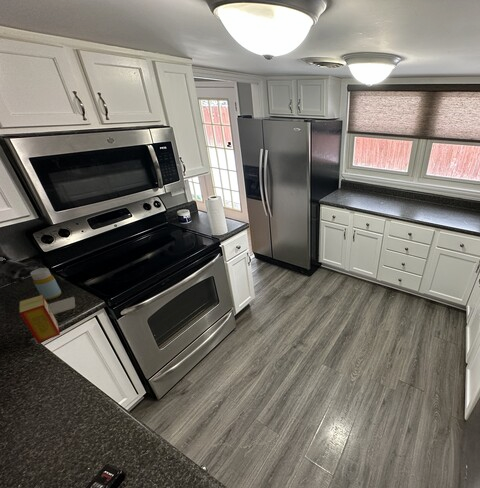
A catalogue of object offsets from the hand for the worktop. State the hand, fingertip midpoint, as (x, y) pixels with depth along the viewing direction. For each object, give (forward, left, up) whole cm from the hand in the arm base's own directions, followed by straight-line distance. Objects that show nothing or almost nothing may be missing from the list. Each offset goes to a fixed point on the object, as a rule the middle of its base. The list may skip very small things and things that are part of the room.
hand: (34, 276), depth 131 cm
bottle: (+4, -8, -10) cm, 13 cm away
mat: (+6, -21, -9) cm, 24 cm away
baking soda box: (+3, -40, -10) cm, 41 cm away
